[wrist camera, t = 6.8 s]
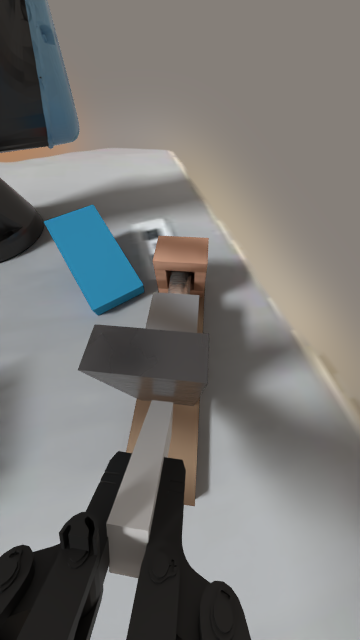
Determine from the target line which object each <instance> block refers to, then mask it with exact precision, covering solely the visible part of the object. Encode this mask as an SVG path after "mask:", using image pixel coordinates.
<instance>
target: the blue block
mask: <svg viewBox="0 0 360 640" xmlns="http://www.w3.org/2000/svg"><path fill="white" fill-rule="evenodd" d="M44 223H45V225H46V227H47V229H48V231H49V232H50V234H51V236H52V238H53V240H54V242H55V243H56V245H57V247H58V249H59V251H60V252H61V254H62V256H63V258H64V260H65V262H66V263H67V265H68V267H69V269H70V271H71V273H72V274H73V276H74V278H75V280H76V282H77V283H78V285H79V287H80V289H81V291H82V293H83V294H84V296H85V298H86V300H87V302H88V303H89V305H90V307H91V309H92V310H93V311H94V312H95V313H96V314H97V315H100V314H102V313H104V312H106V311H108V310H110V309H112V308H114V307H116V306H118V305H120V304H122V303H124V302H126V301H128V300H130V299H132V298H134V297H136V296H138V295H140V294H142V293H144V286H143V283H142V282H141V280H140V279H139V277H138V275H137V274H136V272H135V271H134V269H133V267H132V266H131V264H130V263H129V261H128V259H127V258H126V256H125V255H124V253H123V251H122V250H121V248H120V247H119V245H118V243H117V242H116V240H115V239H114V237H113V235H112V234H111V232H110V231H109V229H108V227H107V226H106V224H105V223H104V221H103V219H102V218H101V216H100V214H99V213H98V211H97V210H96V208H95V206H94V205H90V206H87V207H84V208H81V209H78V210H76V211H73V212H70V213H67V214H64V215H61V216H58V217H55V218H52V219H49V220H46V221H44Z"/></svg>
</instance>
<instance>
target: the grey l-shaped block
mask: <svg viewBox="0 0 360 640" xmlns="http://www.w3.org/2000/svg"><path fill="white" fill-rule="evenodd" d="M191 274H192V272H188V271H171V277H170V283H169V289H168V293H174V294H189V295H190V285H191ZM208 351H209V334H204V333H192V332H180V331H168V330H156V329H143V328H131V327H119V326H107V325H94V328H93V330H92V333H91V336H90V339H89V341H88V344H87V347H86V349H85V352H84V355H83V357H82V360H81V363H80V365H79V368H78V370H79V371H81V372H83V373H85V374H87V375H89V376H91V377H93V378H95V379H97V380H100V381H102V382H104V383H106V384H108V385H110V386H112V387H114V388H116V389H118V390H120V391H122V392H125V393H127V394H129V395H131V396H133V397H135V398H137V399H139V400H142V401H152V400H156V401H165V402H173V404H178V405H188V406H194V405H195V404H196V402H197V400H198V399H199V397H200V395H201V394H202V392H203V390H204V388H205V387H206V385H207V383H208Z"/></svg>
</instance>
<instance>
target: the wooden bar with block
mask: <svg viewBox="0 0 360 640" xmlns="http://www.w3.org/2000/svg"><path fill="white" fill-rule="evenodd" d="M207 263H208V238H196V237H174V236H159V237H158V241H157V245H156V249H155V253H154V258H153V265H154V270H155V275H156V280H157V285H158V290H159V291H158V292H153V296H152V301H151V306H150V310H149V315H148V319H147V324H146V329H156V330H168V331H180V332H192V333H203V315H204V293H205V278H206V271H207ZM171 271H188V272H192V274H191V285H190V295H189V294H174V293H168V289H169V283H170V277H171ZM199 401H200V397H199V399H198V400H197V402H196V404H195V405H194V406H188V405H178V404H173V416H172V435H171V441H170V447H169V453H168V458H174V459H182V460H183V463H184V466H185V469H186V476H185V492H184V505H190V506H195V487H196V466H197V444H198V423H199ZM150 404H151V401H142V400H139V399H137V401H136V406H135V411H134V416H133V421H132V426H131V431H130V436H129V441H128V445H127V450H126V452H127V453H133V450H134V447H135V445H136V442H137V439H138V436H139V434H140V431H141V428H142V426H143V423H144V420H145V417H146V415H147V412H148V409H149V407H150Z"/></svg>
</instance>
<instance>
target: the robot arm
mask: <svg viewBox="0 0 360 640" xmlns="http://www.w3.org/2000/svg"><path fill="white" fill-rule="evenodd" d="M78 135H79V122H78V118H77V113H76V109H75V105H74V101H73V97H72V93H71V89H70V85H69V81H68V77H67V73H66V70H65V65H64V62H63V58H62V54H61V50H60V46H59V42H58V39H57V35H56V31H55V28H54V24H53V20H52V16H51V13H50V9H49V5H48V2H47V0H0V153H3V152H10V151H17V150H24V149H32V148H39V147H46V146H48V147H49V148H53V146H54V145H59V144H65V143H70V142H73V141H74V140H76V139H77V137H78ZM42 230H43V220H42V218H41V217H40V216H39V214H38V213H37V211H36V210H35V209H34V207H33V206H32V205H31V204H30V203H29V202H27V201H26V200H25V199H24V198H23V197H22V196H21V195H19V194H18V193H17V192H16V191H15V190H14V189H13V188H11V187H10V186H9V185H8V184H7V183H6V182H4V181H3V180H2V179H1V178H0V262H1V261H4V260H6V259H9V258H11V257H13V256H15V255H17V254H19V253H21V252H22V251H24V250H25V249H27V248H28V247H29V246H31V245H32V244H33V243H34V242H35V241H36V240H37V239H38V237H39V236H40V234H41V232H42ZM172 416H173V402H165V401H156V400H152V401H151V404H150V407H149V409H148V412H147V415H146V417H145V420H144V423H143V426H142V428H141V431H140V434H139V436H138V439H137V442H136V445H135V447H134V450H133V453H127V452H120V451H118V452H117V453H116V454H115V455H114V457H113V458H112V459H111V460H110V462H109V464H108V466H107V468H106V470H105V473H104V474H103V476H102V478H101V481H100V483H99V485H98V487H97V489H96V491H95V493H94V495H93V497H92V500H91V502H90V504H89V506H88V508H87V510H86V512H81V513H79V514H77V515H75V516H73V517H72V518H71V519H70V520H69V521H68V522H66V523H65V525H64V526H63V528H62V529H61V531H60V532H59V536H60V544H58V545H55V546H53V547H49V548H46V549H42V550H39V551H35V552H32V550H31V548H30V547H29V546H26V545H20V546H16V547H14V548H12V549H10V550H9V551H7V552H6V553H4V554H3V555H2V556H1V557H0V640H90V637H91V634H92V630H93V627H94V624H95V620H96V617H97V613H98V610H99V607H100V603H101V599H102V594H103V583H104V579H105V576H106V573H107V570H108V566H109V572H110V573H115V574H120V575H126V576H130V577H135V578H138V583H137V589H136V594H135V599H134V604H133V609H132V614H131V619H130V624H129V629H128V634H127V639H126V640H251V638H250V634H249V630H248V626H247V623H246V619H245V615H244V612H243V609H242V606H241V604H240V601H239V599H238V597H237V595H236V594H235V593H234V591H233V590H232V588H231V587H230V586H228V585H227V584H226V583H224V582H222V581H214V582H212V583H210V582H208V581H207V580H206V579H204V578H203V577H202V576H200V575H199V574H198V573H197V572H195V571H194V570H193V569H192V568H191V566H190V565H189V563H188V562H187V560H186V557H185V555H184V552H183V547H182V525H183V508H184V492H185V476H186V469H185V466H184V463H183V460H182V459H174V458H168V453H169V447H170V441H171V435H172Z"/></svg>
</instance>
